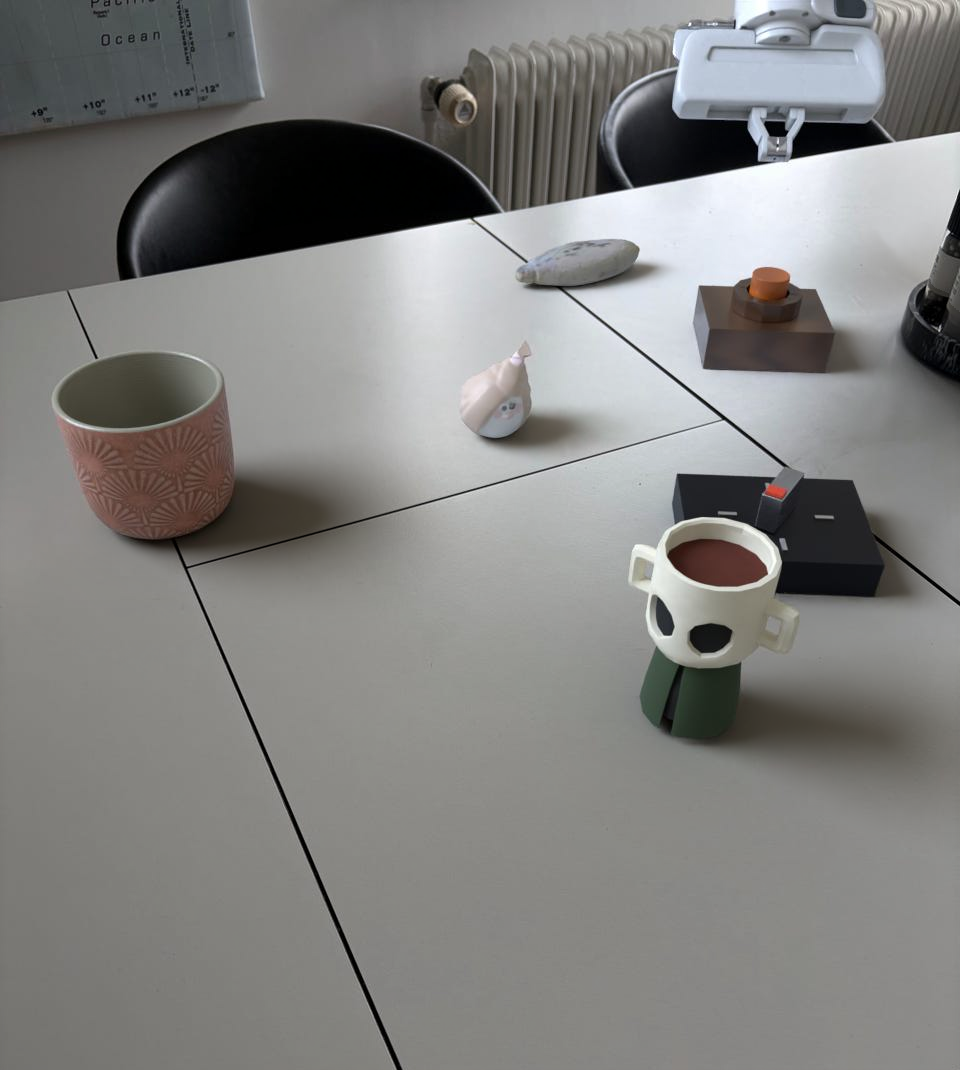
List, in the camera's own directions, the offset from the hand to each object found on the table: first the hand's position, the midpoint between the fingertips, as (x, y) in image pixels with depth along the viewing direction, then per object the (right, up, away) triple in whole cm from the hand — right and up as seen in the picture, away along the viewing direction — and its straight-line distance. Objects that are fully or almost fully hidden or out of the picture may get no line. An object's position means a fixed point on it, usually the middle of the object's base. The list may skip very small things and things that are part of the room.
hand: (774, 159), depth 102 cm
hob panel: (-6, -40, -21) cm, 46 cm away
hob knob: (-6, -38, -23) cm, 45 cm away
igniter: (-1, -17, +4) cm, 18 cm away
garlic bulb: (-28, -29, -8) cm, 40 cm away
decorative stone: (-18, -6, +17) cm, 25 cm away
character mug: (-15, -52, -34) cm, 64 cm away
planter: (-54, -37, -18) cm, 68 cm away
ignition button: (-1, -13, 0) cm, 13 cm away
